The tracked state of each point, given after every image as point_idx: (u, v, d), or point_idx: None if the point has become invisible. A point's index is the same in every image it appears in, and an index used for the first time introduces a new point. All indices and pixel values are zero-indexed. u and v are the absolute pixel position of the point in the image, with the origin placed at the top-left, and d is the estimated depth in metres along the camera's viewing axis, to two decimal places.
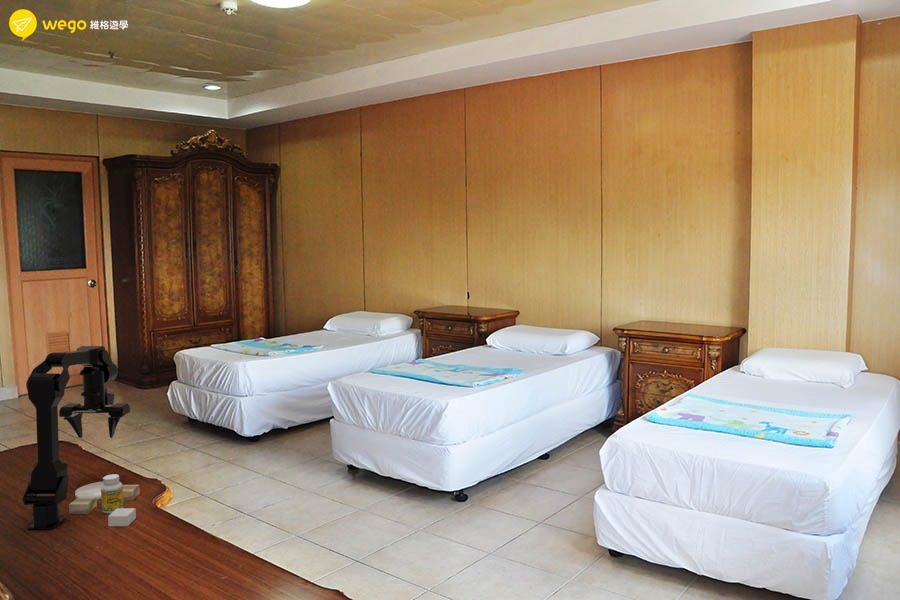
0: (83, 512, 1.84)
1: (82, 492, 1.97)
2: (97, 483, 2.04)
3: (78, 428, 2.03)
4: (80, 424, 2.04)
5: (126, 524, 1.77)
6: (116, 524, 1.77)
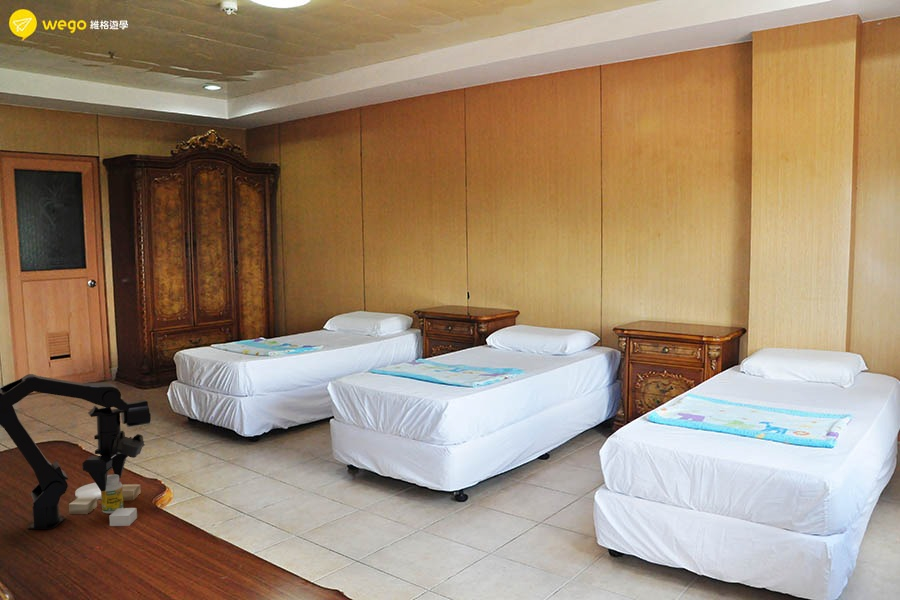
0: (83, 512, 1.84)
1: (82, 492, 1.97)
2: None
3: (114, 467, 1.91)
4: (120, 464, 1.91)
5: (127, 523, 1.77)
6: (117, 524, 1.77)
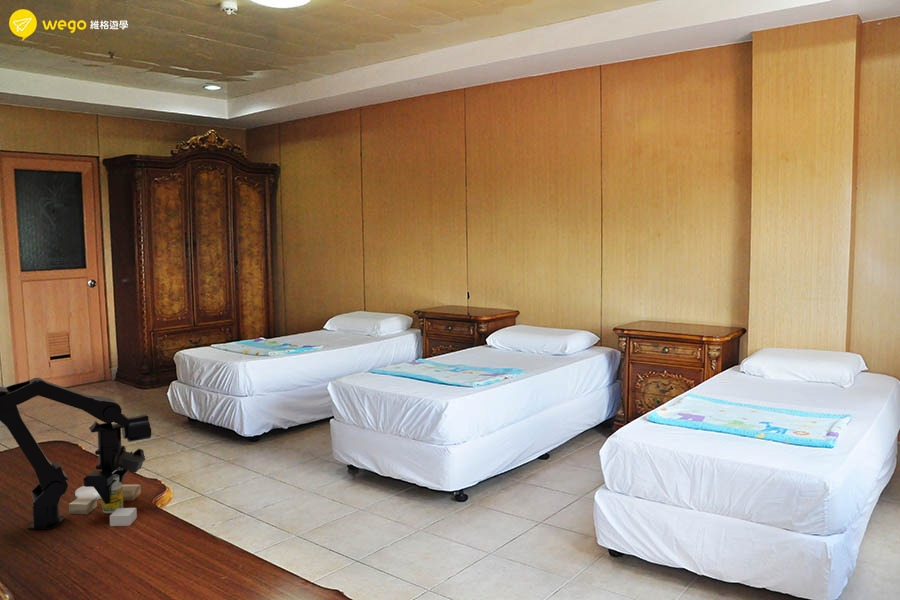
0: (82, 512, 1.84)
1: (82, 492, 1.97)
2: None
3: None
4: None
5: (128, 523, 1.77)
6: (118, 524, 1.77)
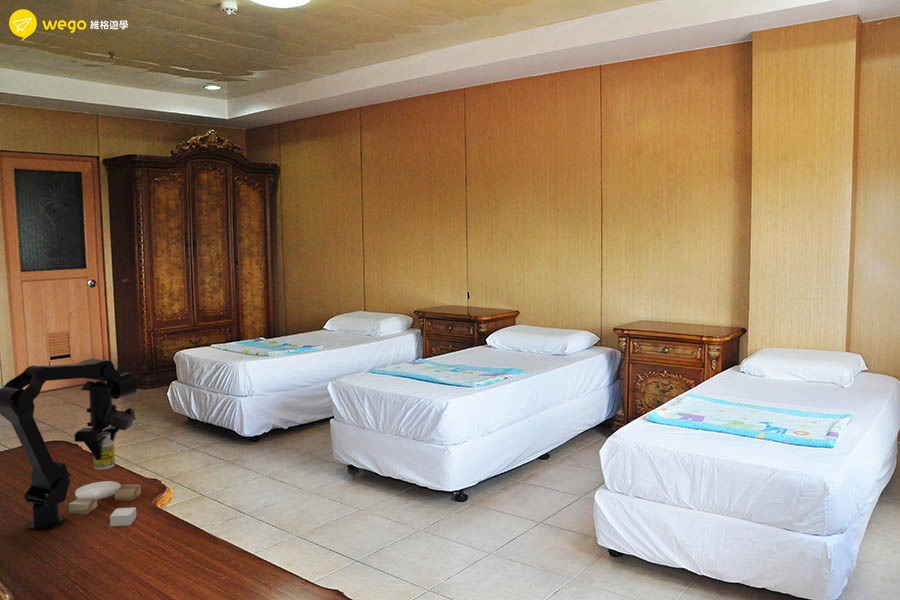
0: (82, 512, 1.84)
1: (82, 492, 1.97)
2: (97, 483, 2.04)
3: None
4: None
5: (129, 523, 1.78)
6: (118, 524, 1.77)
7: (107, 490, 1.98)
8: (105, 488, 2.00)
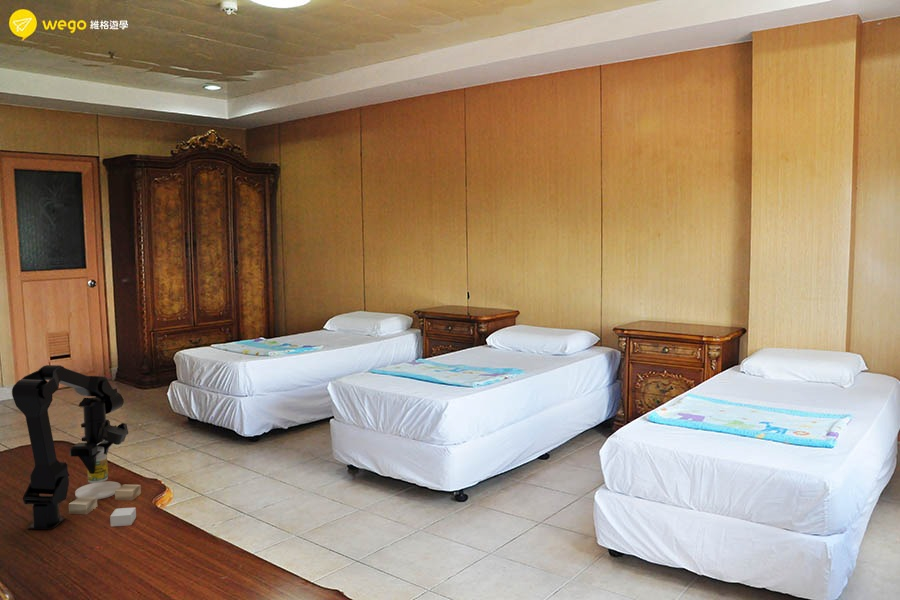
0: (82, 512, 1.84)
1: (82, 492, 1.97)
2: (97, 483, 2.04)
3: None
4: None
5: (129, 523, 1.78)
6: (119, 524, 1.77)
7: (107, 490, 1.98)
8: (105, 488, 2.00)
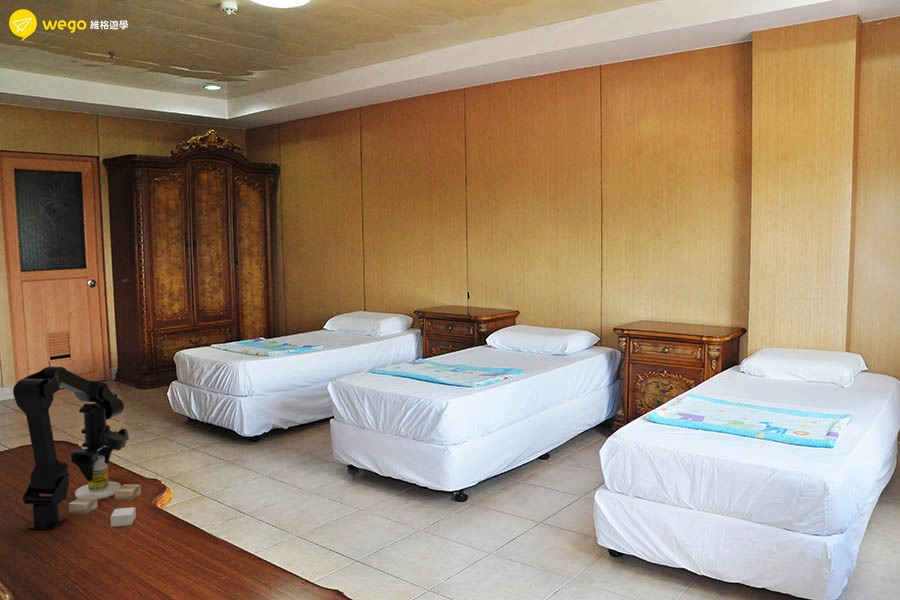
0: (81, 512, 1.84)
1: (82, 492, 1.97)
2: None
3: None
4: (106, 457, 2.03)
5: (130, 523, 1.78)
6: (119, 524, 1.77)
7: (107, 490, 1.98)
8: None
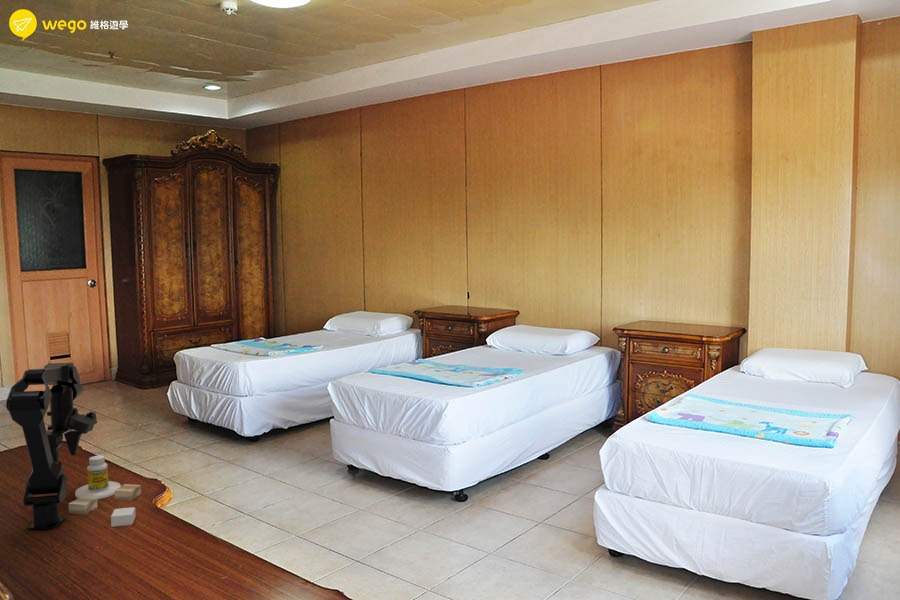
0: (81, 512, 1.84)
1: (82, 492, 1.97)
2: None
3: (69, 444, 1.97)
4: (74, 441, 1.97)
5: (130, 523, 1.78)
6: (119, 524, 1.77)
7: (107, 490, 1.98)
8: None
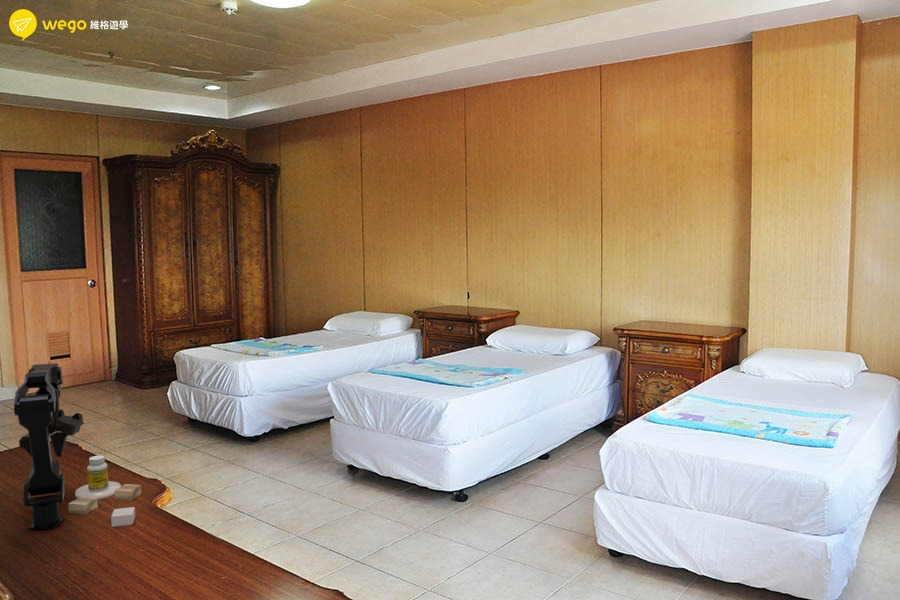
0: (81, 512, 1.84)
1: (82, 492, 1.97)
2: None
3: (55, 446, 1.94)
4: (60, 443, 1.95)
5: (131, 523, 1.78)
6: (120, 524, 1.77)
7: (107, 490, 1.98)
8: None
